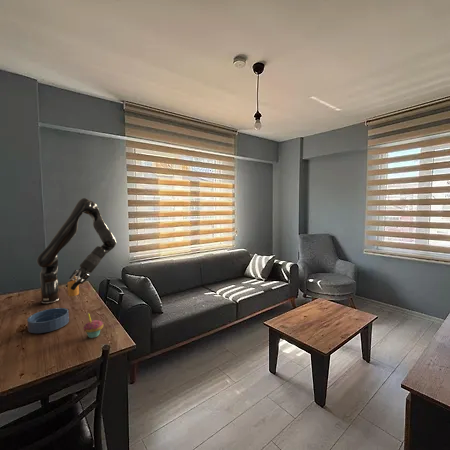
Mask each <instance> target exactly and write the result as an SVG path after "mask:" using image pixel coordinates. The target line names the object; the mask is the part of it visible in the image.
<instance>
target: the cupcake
mask: <svg viewBox="0 0 450 450" xmlns="http://www.w3.org/2000/svg"><path fill="white" fill-rule="evenodd" d="M87 315H88V322H86V323H85V324H84V326H83V328H82V329H83V332H85V333H86V335H87V337H88V338H89V339H93V338H97V337H98V336H99V335H100V334H101V330H102V329H103V328H104V322H103V321H102V320H99V319H92V318H91V314H90V313H89V312H87Z"/></svg>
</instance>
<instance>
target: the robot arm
mask: <svg viewBox="0 0 450 450" xmlns="http://www.w3.org/2000/svg"><path fill="white" fill-rule="evenodd" d="M83 214H86V215H89V217H90V218H91V219H92V226H93V229H94V231H95V232H96V233H97V235H98V236H99V238H100V241H101V242H102V245H101V246H100V245H99V246H98V245H97V246H95V248H93V249H92V251H91V252H90V253H89V254H88V255H87V256H86V257H85V259H84V260H83V261H82V262H81V263H80V264H79V269H75V270H73V272H72V273H71V275H70V276H69V278H68V279H69V281H68V282H70V281H73V280H75V281H76V282H75V283H74V284H73V285H72V286H71V289H72V290H75V288H76V287H77V286H78V285H79V286H80V285H83V284H84V283H85V282H86V281H87V280H88V279H89V278H90V276H91V275H90V274H91V273H93V271H94V270H95V269H96V268H97V266H98V265H99V264H100V262H101V261H102V260H103V258H104V257H105V256H106V254H108V253H110V252H111V251H112V250H113V249H115V247H116V245H117V240H116V237H115V236H114V234H113V233H112V231H110V229H109V227H108V226H107V224H106V223H105V221H104V219H103V217H102V214H101V212H100V209H99V207H98V204H97V203H96V202H94V201H93V200H91V199H89V198H87V197H84V198H80V199H79V200H78V202H76V204H75V206H74V207H73V209H72V211H71V213H70V214H69V216H68V217H67V218H66V220H65V221H64V222H63V224H62V225H61V227H59V229H58V231H57V232H56V233H55V235H54V236H53V238H52V239H51V241H50V242H49V244H48V245H47V246H46V248H44V250H43V251H42V252H41V253H40V254H39V255H38V256H37V258H36V263H37V265H38V267H40V268H41V271H40V272H39V281H40V295H41V304H42V305H49V304H54V303H56V302H59V301H60V297H59V293H60V292H59V291H60V288H59V285H61V282H59V279H58V271H59V256H58V254H59V253H60V251H62V249H63V248H65V247H66V246H67V245H68V244H69V243H70V241H72V239H73V238H74V237H75V236H76V234H77V232H78V230H79V229H78V228H79V221H80V218H81V217H82V216H83ZM65 288H67V289H68V285H67V284H66V285H65Z"/></svg>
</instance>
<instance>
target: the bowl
mask: <svg viewBox="0 0 450 450" xmlns="http://www.w3.org/2000/svg"><path fill="white" fill-rule="evenodd" d="M69 312H70V310H69V309H68V308H66V307H65V308H64V307H54V308H48V309H44V310H41V311H37V312H35V313H33V314H31V315H30V316H28V317H27V319H26V323H27V331H28V332H29V333H30V334H44V333H45V334H46V333H49V332H53V331H56V330H59V329H61V328H63V327H65V326H66V325H68V324H69V322H70V313H69Z"/></svg>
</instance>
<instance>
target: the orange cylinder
mask: <svg viewBox="0 0 450 450" xmlns="http://www.w3.org/2000/svg"><path fill="white" fill-rule="evenodd" d="M69 281H70V280H69ZM69 281H67V283H66V285H68V288H67V296H68V297H76V296H78V295H80V287H79V286H80V284H79V285H78V286H77V287H76V288H75V290H72V289H71V286H72V285H73V284H74V283H75V282H76V281H75V279H74V280H73V281H70V282H69Z"/></svg>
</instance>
